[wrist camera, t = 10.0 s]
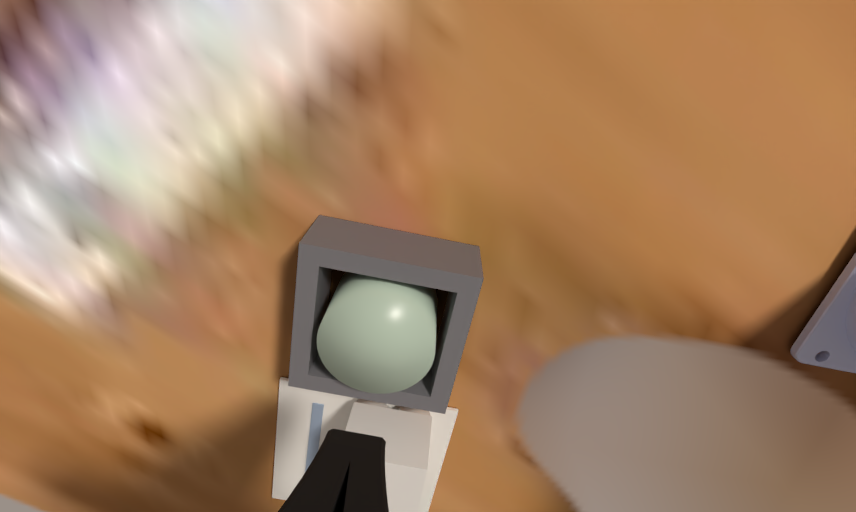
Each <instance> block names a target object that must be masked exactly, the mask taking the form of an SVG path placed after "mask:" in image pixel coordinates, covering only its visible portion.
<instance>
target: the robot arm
mask: <svg viewBox="0 0 856 512" xmlns="http://www.w3.org/2000/svg"><path fill="white" fill-rule="evenodd" d="M790 351H791V355H792V356H793V357H794V358H795V359H796V360H797V361H798V362H801V363H804V364H809V365H814V366H819V367H825V368H830V369H835V370H840V371H846V372H851V373H856V253H855V254H854V256H853V257H852V259H851V260H850V261H849V263H848V264H847V266H846V267H845V269H844V270H843V272H842V273H841V275H840V276H839V278H838V279H837V281H836V282H835V284H834V285H833V287H832V288H831V289H830V291H829V292H828V294H827V295H826V297H825V298H824V300H823V301H822V303H821V304H820V306H819V307H818V309H817V310H816V312H815V313H814V315H813V316H812V317H811V319H810V320H809V322H808V323H807V325H806V326H805V328H804V329H803V331H802V332H801V334H800V335H799V337H798V338H797V340H796V341H795V343H794V344H793V345H792V348H791V350H790ZM819 352H820V353H819ZM818 353H819V354H818ZM385 446H386V441H385V440H384V439H383V438H382V437H377V436H372V435H366V434H361V433H355V432H350V431H344V430H339V429H331V430H329V431H328V432H327V434H326V436H325V439H324V441H323V443H322V445H321V446H320V448H319V450H318V452H317V454H316V455H315V457H314V459H313V461H312V462H311V464H310V465H309V467H308V469H307V470H306V472H305V473H304V475H303V477H302V478H301V480H300V481H299V483H298V484H297V485H296V487H295V488H294V490H293V491H292V493H291V494H290V496H289V497H288V498H287V500H286V501H285V503H284V504H283V506H282V507H281V508H280V510H279V511H278V512H389V508H388V500H387V490H386V477H385Z"/></svg>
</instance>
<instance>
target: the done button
mask: <svg viewBox="0 0 856 512" xmlns="http://www.w3.org/2000/svg"><path fill="white" fill-rule="evenodd" d="M437 305H438V299H437V293H436V289H434V288H429V287H424V286H419V285H414V284H408V283H403V282H398V281H393V280H388V279H382V278H377V277H372V276H367V275H361V274H356V273H351V272H345V273H344V275H343V276H342V278H341V280H340V282H339V284H338V286H337V288H336V291H335V293H334V295H333V297H332V299H331V302H330V304H329V306H328V308H327V311H326V313H325V315H324V317H323V320H322V322H321V324H320V327H319V329H318V333H317V350H318V353H319V356H320V358H321V361H322V363H323V364H324V366H325V367H326V369H327V370H328V371H329V372H330V373H331V374H332V375H333V376H334V377H335V378H336V379H338V380H339V381H340V382H342V383H344V384H345V385H347V386H349V387H351V388H354V389H357V390H359V391H363V392H368V393H375V394H386V393H394V392H398V391H402V390H405V389H407V388H409V387H411V386H413V385H415V384H416V383H418V382H419V381H420V380H421V379H422V378H423V377H424V376H425V375H426V374H427V373H428V371H429V370H430V368H431V366H432V364H433V361H434V357H435V348H436V327H437Z"/></svg>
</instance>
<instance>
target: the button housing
mask: <svg viewBox="0 0 856 512" xmlns="http://www.w3.org/2000/svg"><path fill="white" fill-rule="evenodd" d="M332 269H335V270H341V271H346V272H351V273H356V274H361V275H367V276H372V277H377V278H382V279H388V280H393V281H398V282H403V283H408V284H414V285H419V286H424V287H429V288H434V289H440V290H445V291H449V292H448V296H447V300H446V304H445V308H444V312H443V316H442V320H441V324H440V328H439V332H438V336H437V340H436V348H435V357H434V361H433V364H432V366H431V368H430V370H429V371H428V373H427V374H426V375H425V376H424V377H423V378H422V379H421V380H420V381H419V382H418V383H416V384H415V385H413V386H411V387H409V388H407V389H405V390H402V391H398V392H394V393H386V394H375V393H368V392H363V391H359V390H357V389H354V388H351V387H349V386H347V385H345V384H344V383H342V382H340V381H339V380H338V379H336V378H335V377H334V376H333V375H332V374H331V373H330V372H329V371H328V370H327V369H326V367H325V366H324V364H323V363H322V361H321V358H320V356H319V353H318V350H317V333H318V329H319V327H320V324H321V322H322V320H323V317H324V315H325V313H326V311H327V308H328V303H329V294H330V286H331V277H332ZM483 279H484V278H483V271H482V264H481V256H480V249H479V246H475V245H470V244H464V243H459V242H454V241H449V240H444V239H439V238H434V237H429V236H424V235H419V234H414V233H409V232H403V231H398V230H393V229H388V228H383V227H378V226H373V225H368V224H363V223H358V222H353V221H348V220H342V219H337V218H332V217H327V216H322V215H319V216H318V217H317V219H316V220H315V222H314V223H313V224H312V226H311V227H310V229H309V230H308V231H307V233H306V234H305V235H304V237H303V238H302V240H301V241H300V242H299V250H298V263H297V276H296V289H295V302H294V315H293V328H292V341H291V354H290V367H289V380H288V386H291V387H297V388H302V389H308V390H314V391H319V392H325V393H330V394H336V395H341V396H347V397H353V398H358V399H364V400H369V401H375V402H381V403H386V404H392V405H397V406H403V407H408V408H414V409H420V410H425V411H431V412H436V413H442V414H445V412H446V409H447V405H448V402H449V398H450V395H451V391H452V388H453V384H454V381H455V377H456V374H457V370H458V367H459V363H460V360H461V356H462V353H463V349H464V346H465V342H466V339H467V335H468V332H469V328H470V325H471V321H472V317H473V314H474V310H475V307H476V303H477V300H478V296H479V293H480V289H481V286H482V282H483Z"/></svg>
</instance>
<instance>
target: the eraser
mask: <svg viewBox="0 0 856 512" xmlns="http://www.w3.org/2000/svg"><path fill="white" fill-rule="evenodd" d="M431 425H432V416H431V415H430V412H429V411H425V410H420V409H414V408H408V407H403V406H402V407H401V408H400V409H399V410H396V409H390V408H387V404H386V403H381V402H375V401H369V400H364V399H358V400H357V401H356V402H354V404H353V407H352V410H351V413H350V417H349V420H348V423H347V426H346V430H345V431H350V432H355V433H361V434H366V435H372V436H377V437H382V438H383V439H384V440H385V441H386V446H385V477H386V490H387V500H388V508H389V512H417V511H418V507H419V503H420V498H421V494H422V490H423V486H424V482H425V478H426V474H427V469H428V458H429V447H430V436H431Z"/></svg>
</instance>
